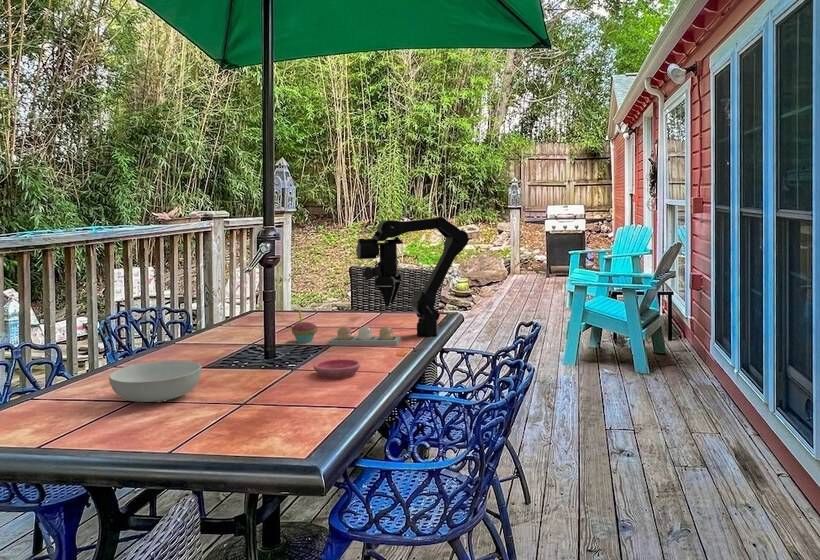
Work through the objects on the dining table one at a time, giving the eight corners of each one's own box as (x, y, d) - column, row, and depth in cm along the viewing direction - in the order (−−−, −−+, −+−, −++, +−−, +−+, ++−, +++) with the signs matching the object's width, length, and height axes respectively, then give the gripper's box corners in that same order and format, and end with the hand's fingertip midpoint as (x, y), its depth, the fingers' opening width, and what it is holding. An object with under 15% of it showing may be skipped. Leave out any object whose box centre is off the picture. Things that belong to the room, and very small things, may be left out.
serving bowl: (93, 401, 162) (91, 373, 162) (171, 382, 179) (170, 357, 178) (141, 416, 149) (139, 385, 149) (220, 394, 166) (219, 366, 165)
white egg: (373, 341, 224) (372, 325, 224) (370, 344, 220) (369, 327, 219) (360, 341, 225) (359, 325, 224) (357, 344, 221) (356, 327, 220)
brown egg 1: (352, 341, 225) (351, 325, 225) (349, 343, 221) (348, 327, 220) (339, 341, 226) (338, 325, 225) (336, 343, 222) (335, 327, 221)
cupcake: (286, 344, 226) (285, 308, 225) (302, 340, 233) (300, 305, 232) (308, 346, 222) (306, 310, 221) (323, 341, 229) (321, 306, 228)
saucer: (304, 375, 183) (304, 364, 183) (341, 367, 192) (340, 356, 191) (333, 383, 174) (332, 371, 174) (370, 374, 183) (369, 362, 182)
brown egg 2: (394, 341, 223) (393, 325, 223) (391, 344, 219) (391, 327, 218) (381, 341, 224) (380, 325, 223) (378, 344, 219) (377, 327, 219)
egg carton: (401, 342, 225) (401, 336, 225) (397, 347, 217) (396, 341, 216) (335, 341, 228) (335, 336, 228) (328, 346, 220) (328, 340, 220)
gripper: (370, 256, 237) (371, 300, 238) (358, 260, 218) (360, 308, 220) (401, 255, 235) (403, 300, 237) (392, 260, 217) (393, 308, 218)
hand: (389, 304), depth 228 cm, fingers open, 9 cm apart
